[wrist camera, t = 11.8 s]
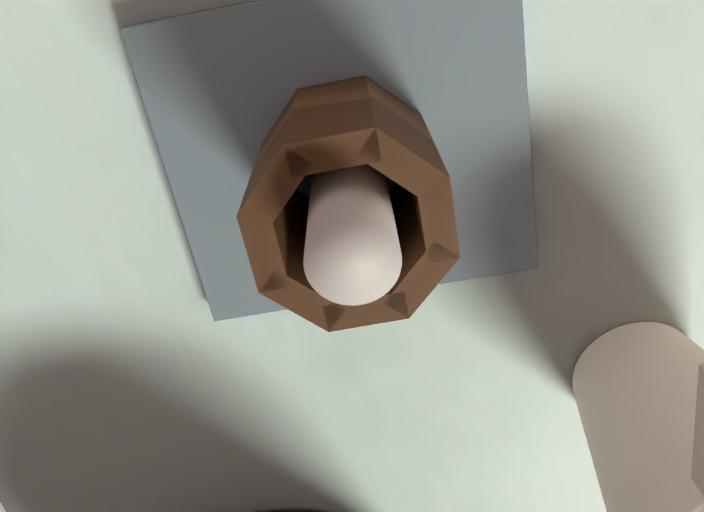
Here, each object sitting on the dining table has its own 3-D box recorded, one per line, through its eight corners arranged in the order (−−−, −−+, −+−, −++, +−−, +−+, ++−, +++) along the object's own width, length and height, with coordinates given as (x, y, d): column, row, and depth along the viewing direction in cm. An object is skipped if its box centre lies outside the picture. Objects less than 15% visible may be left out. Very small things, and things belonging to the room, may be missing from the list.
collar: (287, 245, 31) (272, 341, 23) (249, 97, 28) (218, 156, 20) (435, 218, 30) (466, 308, 23) (414, 65, 27) (442, 114, 20)
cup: (538, 322, 34) (632, 503, 23) (715, 282, 33) (896, 450, 22) (559, 449, 38) (646, 654, 27) (717, 416, 37) (872, 614, 26)
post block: (217, 310, 33) (167, 471, 23) (126, 26, 27) (7, 81, 17) (532, 258, 32) (617, 402, 22) (513, -50, 26) (619, -37, 16)
